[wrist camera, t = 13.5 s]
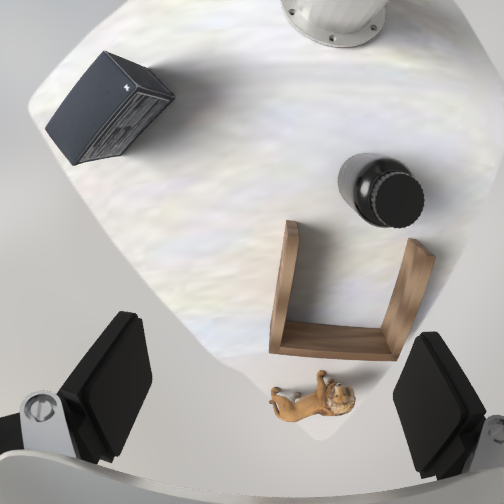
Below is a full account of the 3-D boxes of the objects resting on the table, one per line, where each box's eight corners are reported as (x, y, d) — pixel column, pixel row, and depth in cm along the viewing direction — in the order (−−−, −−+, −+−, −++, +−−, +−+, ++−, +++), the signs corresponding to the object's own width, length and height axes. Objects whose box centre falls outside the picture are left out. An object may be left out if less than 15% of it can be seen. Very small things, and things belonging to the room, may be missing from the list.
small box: (145, 64, 31) (103, 46, 21) (177, 97, 33) (141, 85, 23) (91, 125, 34) (41, 127, 24) (120, 158, 36) (73, 169, 26)
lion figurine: (339, 353, 44) (348, 395, 35) (354, 372, 45) (364, 414, 37) (260, 392, 48) (257, 434, 39) (278, 408, 49) (277, 449, 41)
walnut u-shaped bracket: (286, 220, 37) (287, 236, 31) (416, 239, 36) (435, 256, 31) (270, 326, 43) (268, 353, 37) (385, 335, 42) (396, 361, 36)
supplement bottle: (400, 173, 34) (448, 193, 23) (370, 219, 36) (406, 255, 25) (356, 140, 33) (392, 144, 22) (325, 188, 35) (347, 213, 24)
